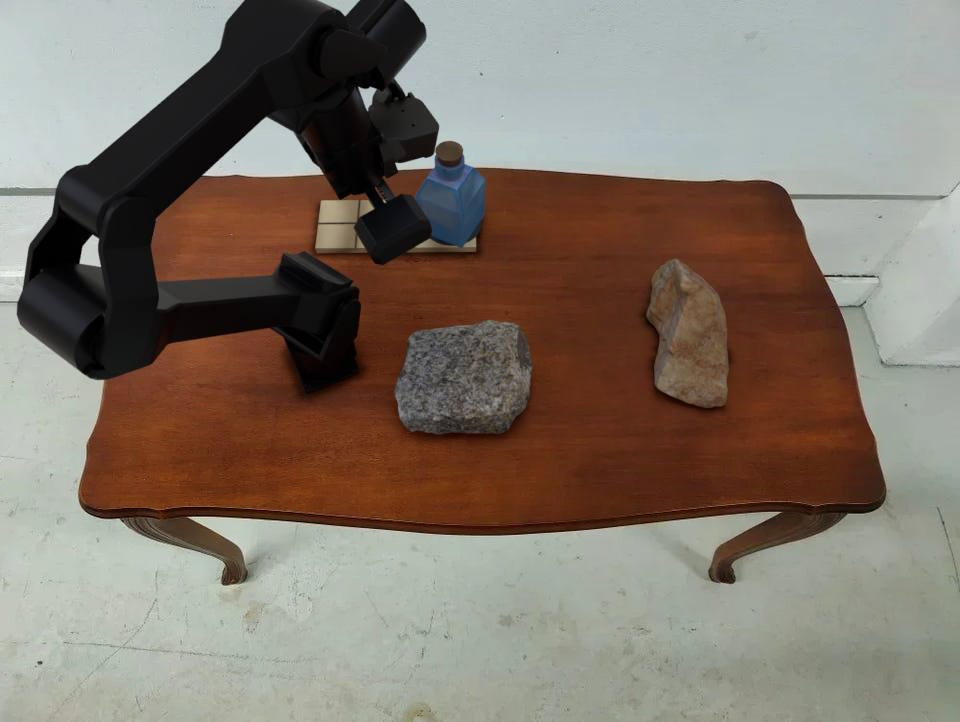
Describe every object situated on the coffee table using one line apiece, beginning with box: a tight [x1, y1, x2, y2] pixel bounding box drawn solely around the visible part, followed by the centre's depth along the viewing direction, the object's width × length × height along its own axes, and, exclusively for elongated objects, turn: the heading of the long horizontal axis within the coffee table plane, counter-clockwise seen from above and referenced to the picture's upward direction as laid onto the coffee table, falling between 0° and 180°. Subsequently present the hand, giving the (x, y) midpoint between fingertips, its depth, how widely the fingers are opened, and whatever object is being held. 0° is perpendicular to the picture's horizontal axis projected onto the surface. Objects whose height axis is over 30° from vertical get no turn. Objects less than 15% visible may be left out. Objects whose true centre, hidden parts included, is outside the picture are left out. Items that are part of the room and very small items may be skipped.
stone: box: [646, 258, 730, 409], centre depth 81 cm, size 17×9×10 cm, turn 172°
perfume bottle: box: [414, 140, 486, 248], centre depth 85 cm, size 6×6×12 cm
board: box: [314, 198, 483, 254], centre depth 90 cm, size 21×8×1 cm, turn 91°
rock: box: [392, 319, 534, 436], centre depth 76 cm, size 13×6×15 cm
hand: (378, 221), depth 75 cm, fingers open, 9 cm apart
